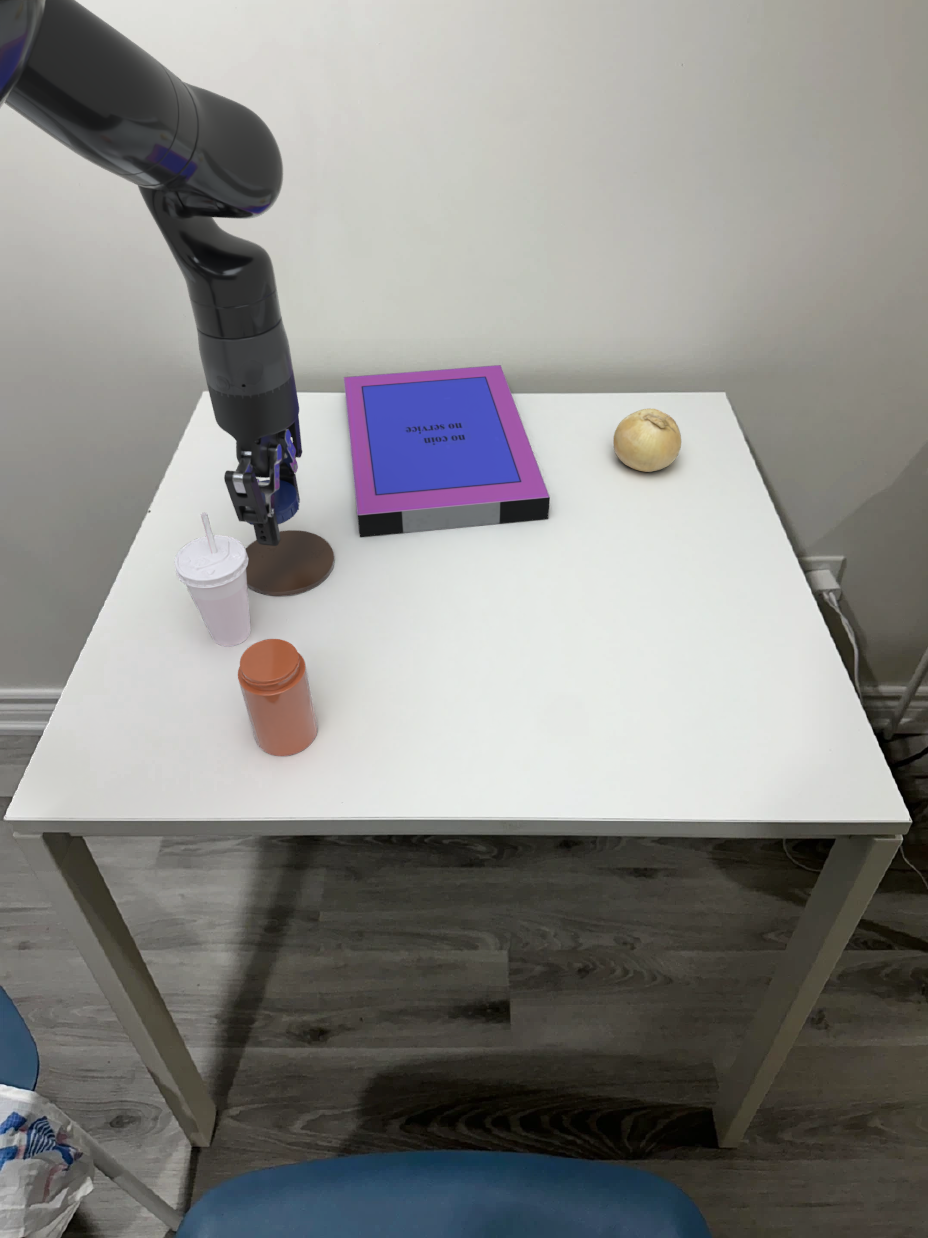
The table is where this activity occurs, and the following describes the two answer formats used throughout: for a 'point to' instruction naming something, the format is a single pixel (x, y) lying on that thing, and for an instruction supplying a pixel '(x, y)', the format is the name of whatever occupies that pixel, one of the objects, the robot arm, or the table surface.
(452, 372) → the book
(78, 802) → the table surface
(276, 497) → the jar lid
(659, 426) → the onion
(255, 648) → the jar
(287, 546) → the coaster
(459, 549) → the table surface
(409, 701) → the table surface
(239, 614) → the smoothie
